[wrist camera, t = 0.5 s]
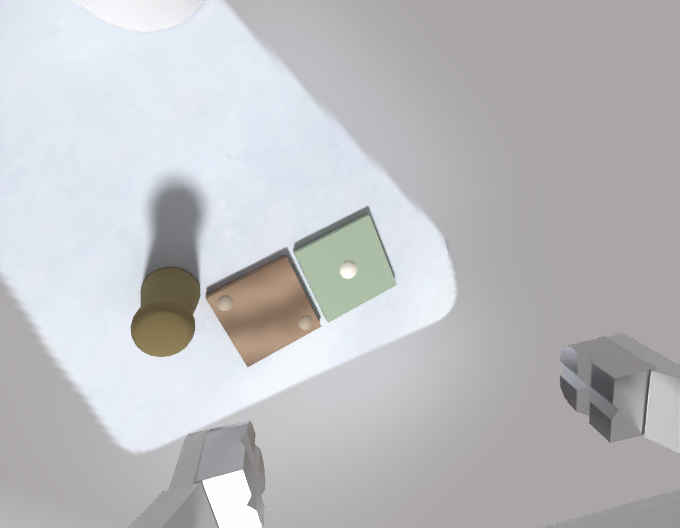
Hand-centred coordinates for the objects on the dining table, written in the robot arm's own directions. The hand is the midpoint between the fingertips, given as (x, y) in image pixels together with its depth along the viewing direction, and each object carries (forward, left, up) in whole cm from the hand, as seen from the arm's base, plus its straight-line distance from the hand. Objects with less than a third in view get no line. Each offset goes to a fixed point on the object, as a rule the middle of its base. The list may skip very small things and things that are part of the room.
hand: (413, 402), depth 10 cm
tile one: (+11, +7, -37) cm, 40 cm away
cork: (+4, -12, -37) cm, 39 cm away
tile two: (+11, -4, -37) cm, 39 cm away
